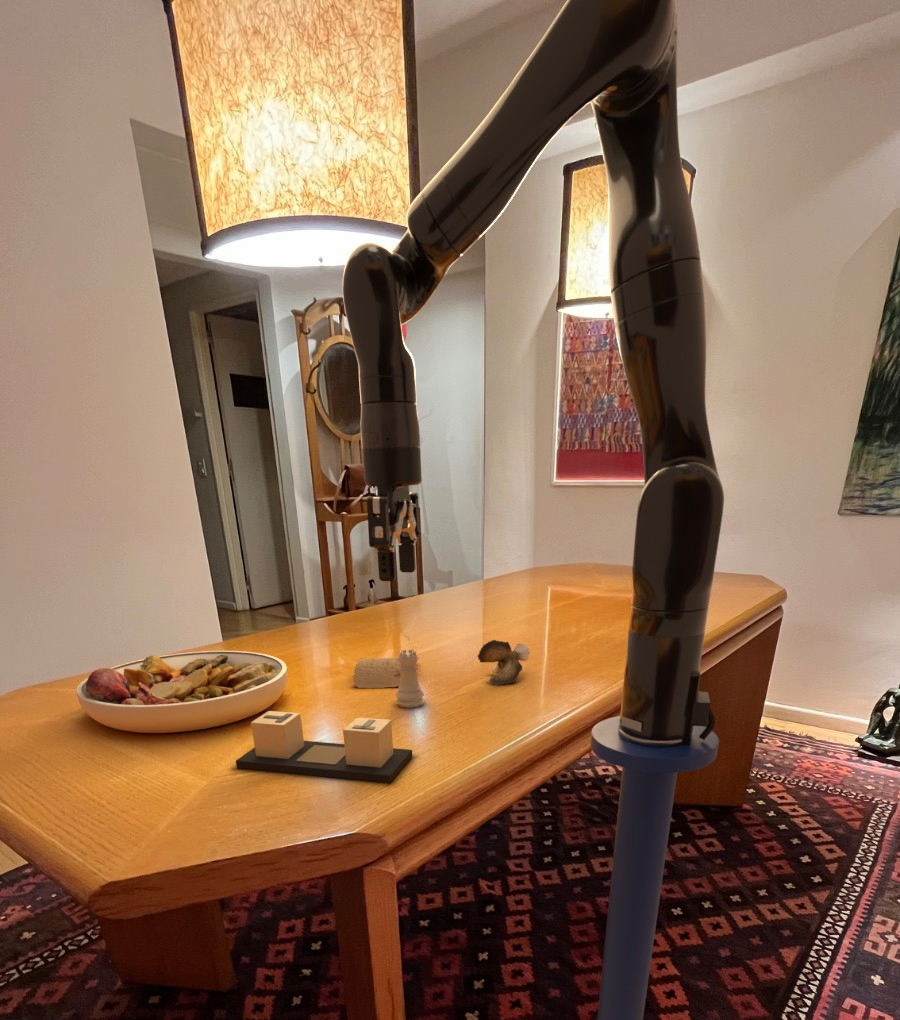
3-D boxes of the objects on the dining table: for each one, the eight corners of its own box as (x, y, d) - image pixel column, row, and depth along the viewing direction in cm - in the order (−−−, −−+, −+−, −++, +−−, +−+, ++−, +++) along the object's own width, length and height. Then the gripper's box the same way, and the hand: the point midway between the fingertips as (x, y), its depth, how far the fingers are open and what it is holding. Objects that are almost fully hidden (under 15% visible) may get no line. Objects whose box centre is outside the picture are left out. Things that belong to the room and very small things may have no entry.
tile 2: (393, 753, 82) (391, 718, 80) (380, 767, 79) (378, 731, 77) (360, 750, 84) (357, 716, 82) (346, 764, 80) (342, 728, 78)
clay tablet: (363, 665, 124) (362, 650, 123) (418, 664, 124) (417, 649, 122) (352, 688, 111) (350, 672, 110) (413, 687, 111) (412, 671, 109)
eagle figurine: (482, 661, 119) (466, 665, 111) (505, 628, 117) (491, 629, 108) (515, 688, 119) (502, 693, 110) (540, 655, 116) (528, 658, 108)
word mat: (412, 756, 84) (412, 748, 84) (390, 783, 77) (390, 774, 77) (269, 744, 89) (268, 736, 88) (236, 768, 82) (235, 759, 82)
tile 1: (304, 746, 85) (300, 712, 83) (288, 759, 82) (283, 724, 80) (273, 743, 87) (268, 709, 85) (256, 756, 83) (250, 721, 81)
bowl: (232, 669, 123) (225, 625, 120) (328, 703, 104) (322, 653, 100) (56, 708, 105) (42, 658, 101) (133, 759, 85) (118, 700, 82)
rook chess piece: (405, 697, 106) (402, 647, 102) (430, 701, 104) (428, 649, 100) (390, 706, 102) (386, 653, 99) (415, 709, 100) (413, 656, 97)
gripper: (401, 442, 80) (408, 585, 87) (434, 445, 92) (438, 569, 99) (342, 444, 81) (353, 584, 89) (382, 447, 94) (390, 569, 101)
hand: (398, 576), depth 94 cm, fingers open, 8 cm apart
